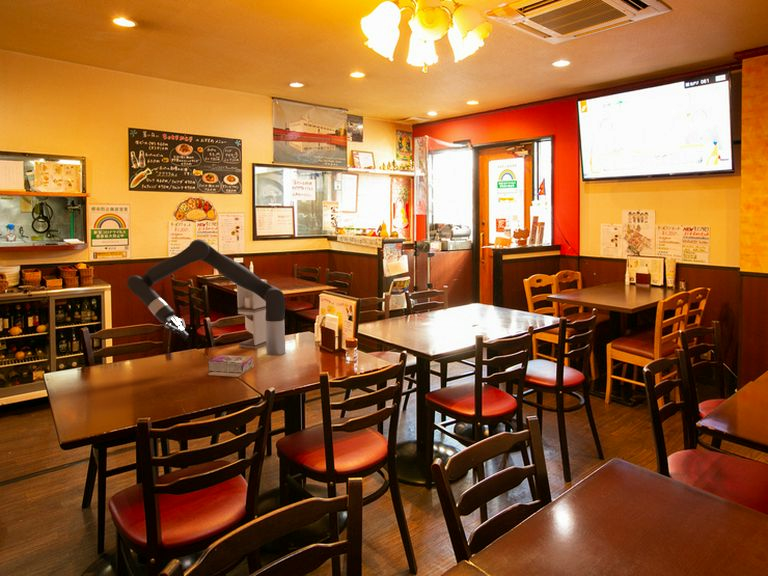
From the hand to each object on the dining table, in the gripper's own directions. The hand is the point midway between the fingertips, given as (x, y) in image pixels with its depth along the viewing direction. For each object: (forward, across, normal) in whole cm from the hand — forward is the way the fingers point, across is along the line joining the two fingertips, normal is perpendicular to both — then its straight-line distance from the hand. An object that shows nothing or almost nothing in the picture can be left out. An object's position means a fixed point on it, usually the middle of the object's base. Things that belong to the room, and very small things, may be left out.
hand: (187, 337), depth 241 cm
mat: (+25, 0, -5) cm, 26 cm away
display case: (+18, +45, +3) cm, 48 cm away
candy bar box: (+17, 0, -1) cm, 17 cm away
